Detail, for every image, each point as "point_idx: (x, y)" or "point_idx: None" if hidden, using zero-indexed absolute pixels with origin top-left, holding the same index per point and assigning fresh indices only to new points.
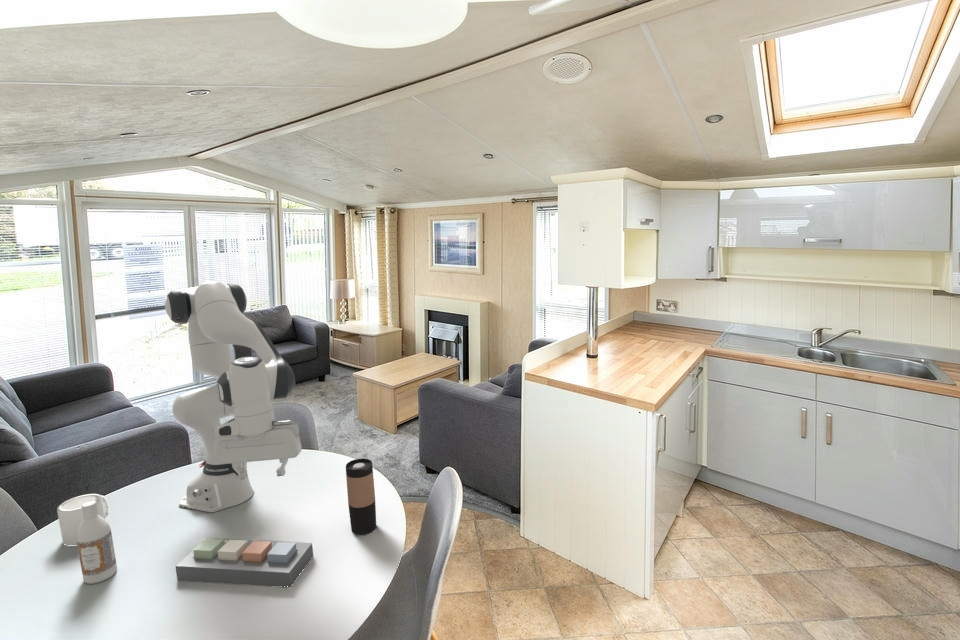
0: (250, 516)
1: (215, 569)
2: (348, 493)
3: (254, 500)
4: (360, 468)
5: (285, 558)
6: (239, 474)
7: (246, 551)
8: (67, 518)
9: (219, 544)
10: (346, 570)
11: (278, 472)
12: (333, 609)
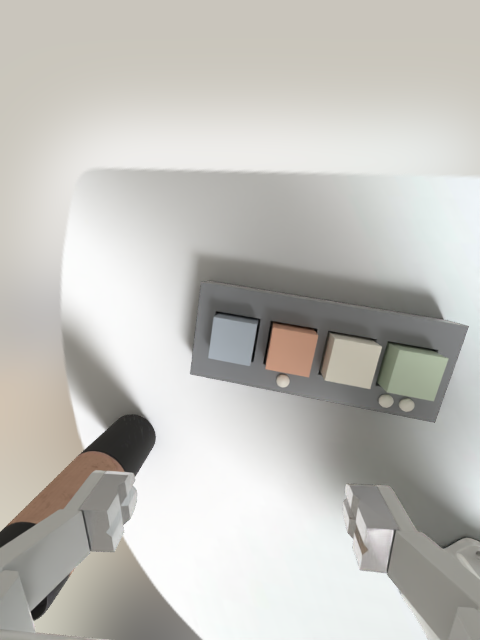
0: None
1: (366, 309)
2: None
3: None
4: None
5: (217, 315)
6: (400, 519)
7: (309, 338)
8: None
9: (389, 376)
10: (127, 319)
11: (103, 490)
12: (116, 220)
